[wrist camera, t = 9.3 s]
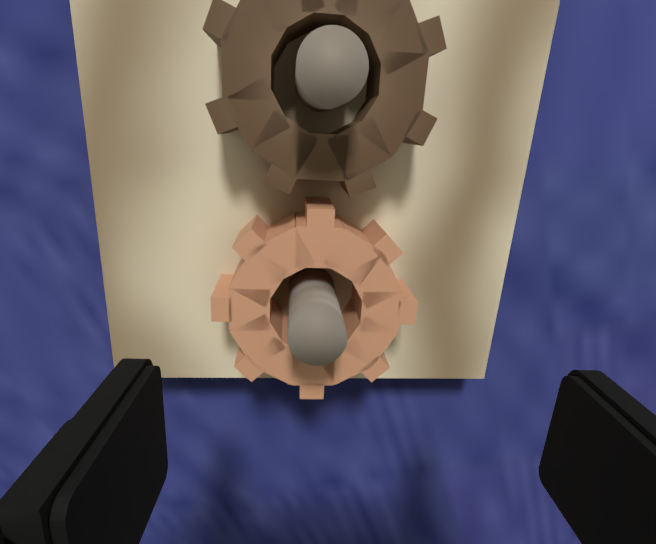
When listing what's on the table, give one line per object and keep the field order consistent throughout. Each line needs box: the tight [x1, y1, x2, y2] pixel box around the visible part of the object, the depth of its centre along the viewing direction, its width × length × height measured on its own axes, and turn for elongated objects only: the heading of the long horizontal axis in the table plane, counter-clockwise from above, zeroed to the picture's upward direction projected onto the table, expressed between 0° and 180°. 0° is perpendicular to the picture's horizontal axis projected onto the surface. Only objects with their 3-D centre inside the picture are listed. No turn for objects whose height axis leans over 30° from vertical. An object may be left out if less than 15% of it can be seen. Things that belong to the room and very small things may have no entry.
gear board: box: [70, 0, 560, 379], centre depth 15 cm, size 16×16×6 cm
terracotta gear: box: [210, 197, 418, 399], centre depth 16 cm, size 7×7×2 cm
